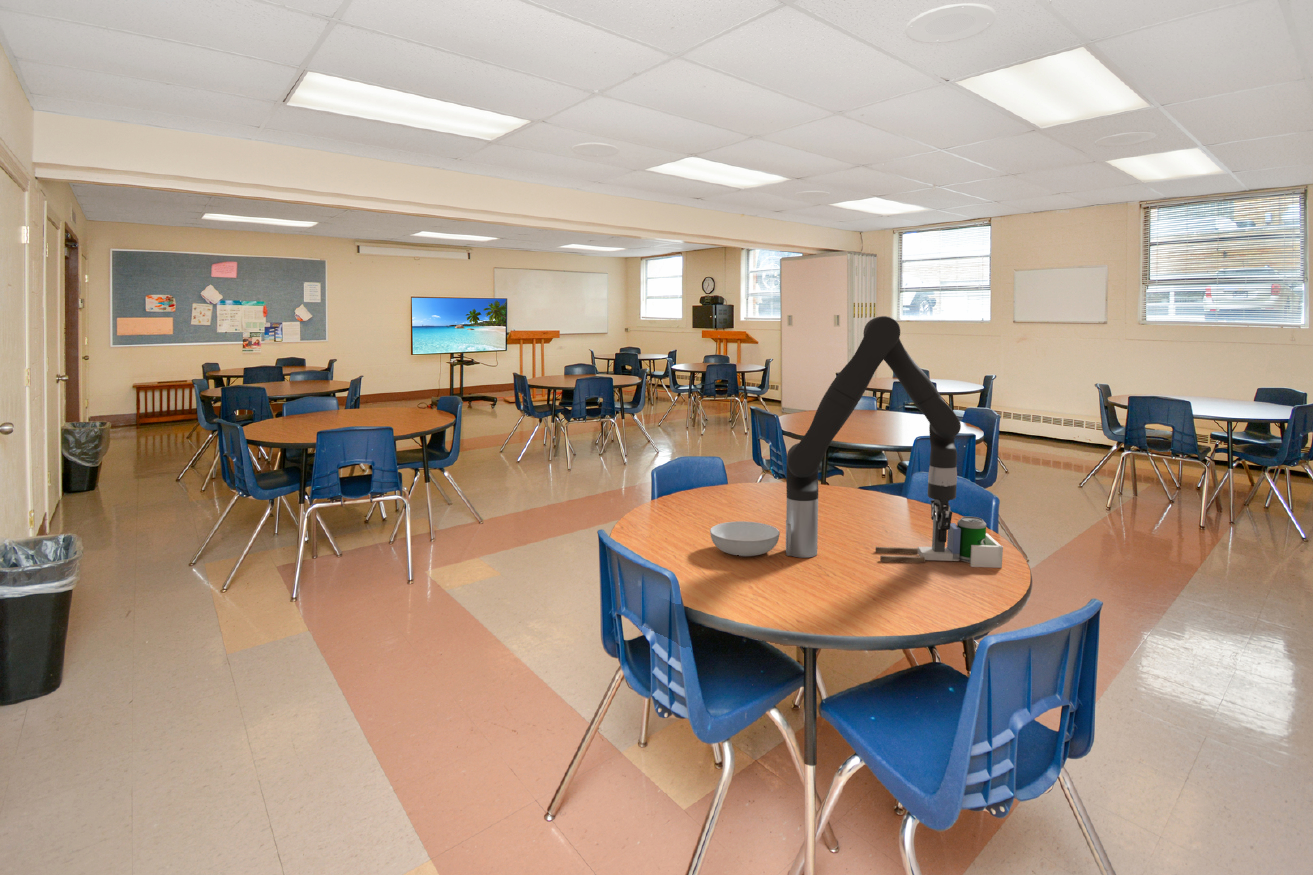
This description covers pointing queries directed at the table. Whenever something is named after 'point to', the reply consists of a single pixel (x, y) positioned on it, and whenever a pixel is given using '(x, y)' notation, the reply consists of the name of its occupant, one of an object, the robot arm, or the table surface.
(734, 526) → the serving bowl
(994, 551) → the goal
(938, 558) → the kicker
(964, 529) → the soda can
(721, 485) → the table surface
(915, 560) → the track
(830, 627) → the table surface
